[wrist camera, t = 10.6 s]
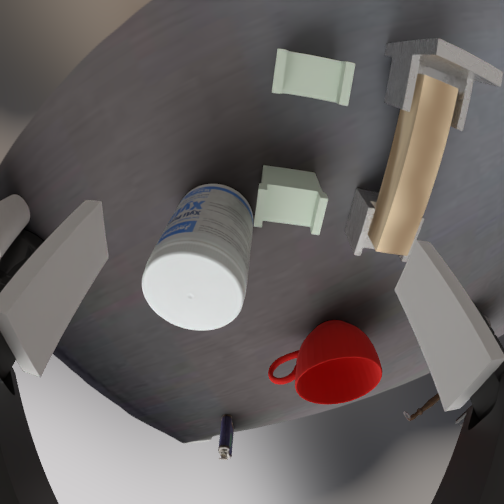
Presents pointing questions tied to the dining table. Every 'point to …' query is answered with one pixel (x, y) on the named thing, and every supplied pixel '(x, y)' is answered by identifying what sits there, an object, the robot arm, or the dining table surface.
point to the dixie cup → (12, 220)
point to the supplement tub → (202, 260)
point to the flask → (226, 437)
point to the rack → (290, 180)
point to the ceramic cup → (332, 364)
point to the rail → (412, 166)
